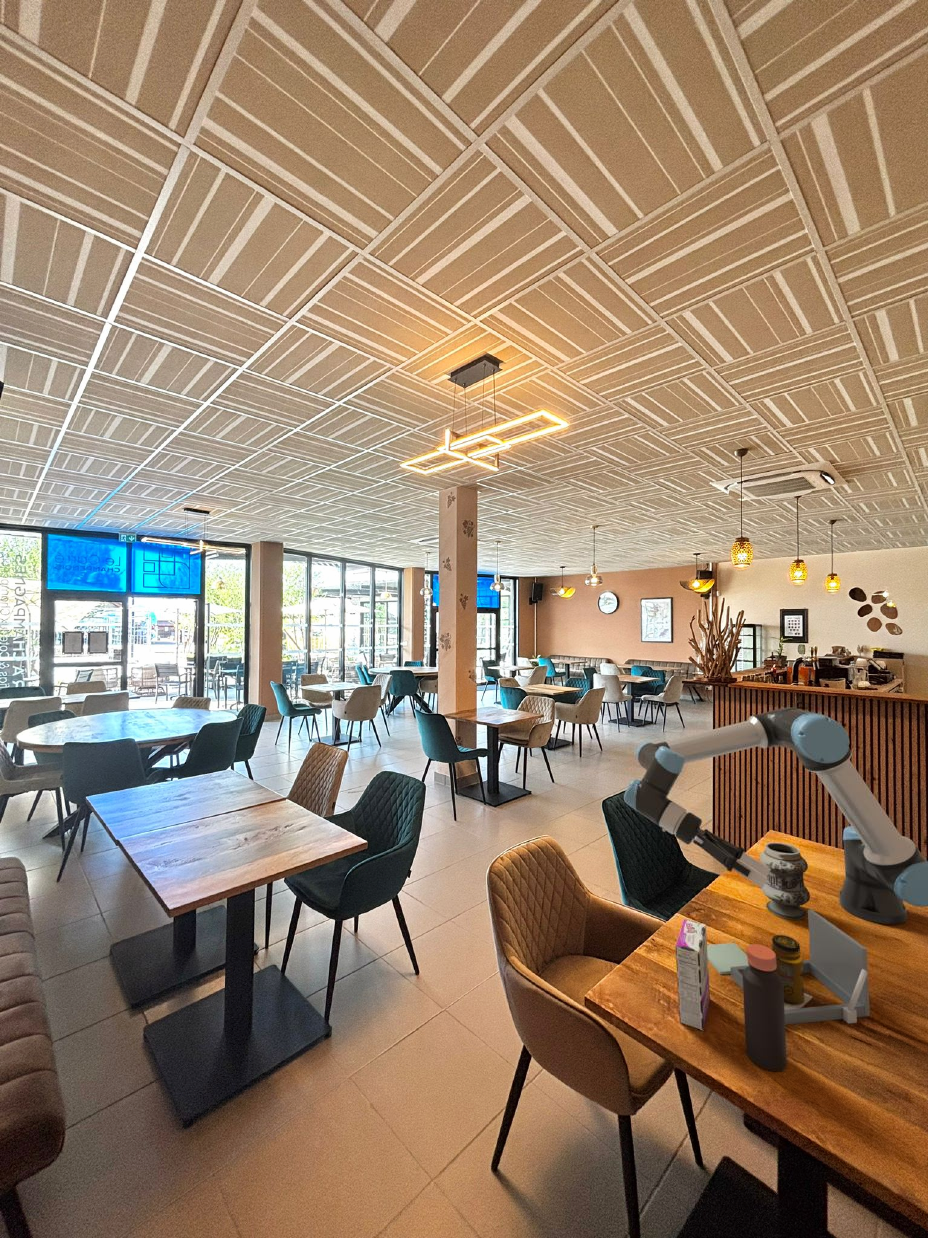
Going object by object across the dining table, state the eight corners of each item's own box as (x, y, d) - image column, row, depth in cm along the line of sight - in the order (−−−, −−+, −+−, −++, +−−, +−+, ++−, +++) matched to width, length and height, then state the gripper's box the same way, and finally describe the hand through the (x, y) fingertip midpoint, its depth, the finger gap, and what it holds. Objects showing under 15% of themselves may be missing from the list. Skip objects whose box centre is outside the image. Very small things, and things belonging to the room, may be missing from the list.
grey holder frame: (814, 969, 121) (811, 909, 122) (875, 1020, 105) (871, 952, 105) (730, 976, 119) (728, 916, 120) (779, 1030, 103) (776, 961, 104)
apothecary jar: (792, 898, 152) (789, 838, 153) (821, 921, 140) (818, 856, 141) (752, 900, 152) (750, 840, 152) (778, 923, 140) (775, 858, 140)
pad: (734, 945, 131) (734, 942, 131) (760, 971, 121) (760, 968, 121) (697, 948, 130) (697, 946, 130) (720, 974, 120) (720, 972, 120)
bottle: (772, 1042, 100) (767, 940, 101) (795, 1072, 94) (790, 962, 94) (738, 1044, 100) (733, 941, 101) (759, 1074, 93) (754, 964, 94)
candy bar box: (686, 990, 115) (683, 917, 116) (710, 998, 113) (707, 924, 113) (677, 1023, 106) (674, 944, 106) (704, 1033, 103) (700, 951, 104)
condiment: (812, 998, 112) (809, 943, 112) (794, 1015, 107) (791, 957, 108) (777, 979, 118) (774, 927, 118) (758, 995, 113) (756, 941, 114)
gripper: (683, 831, 144) (762, 883, 131) (664, 840, 124) (755, 902, 111) (695, 808, 144) (776, 858, 131) (678, 814, 124) (771, 872, 111)
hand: (766, 878), depth 121 cm, fingers open, 13 cm apart
